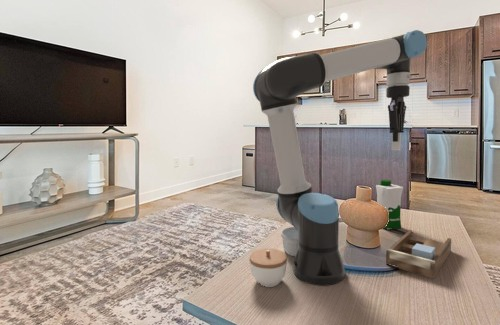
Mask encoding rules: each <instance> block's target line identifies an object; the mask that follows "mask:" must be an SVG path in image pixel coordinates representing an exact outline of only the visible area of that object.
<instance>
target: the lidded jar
mask: <svg viewBox="0 0 500 325" xmlns="http://www.w3.org/2000/svg"><path fill="white" fill-rule="evenodd" d="M287 259H288V256H287V253H286V252H285V251H282V250H280V249H276V248H260V249H257V250H255V251H252V252H251V253H250V254H249V264H250V265H249V266H250V272H251V275H252V277H253V279H254V280H255V281H256V282H257V283H258V284H259V283H260V284H261V285H260V284H259V285H260V286H262V285H263V286H262V287H264V286H265V288H273V287H276V286H278V285H279V284H280V283H281V281H283V279H284V278H285V275H286V272H287V264H288V263H287V261H288V260H287Z"/></svg>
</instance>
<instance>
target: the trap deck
mask: <svg viewBox="0 0 500 325" xmlns="http://www.w3.org/2000/svg"><path fill="white" fill-rule="evenodd" d="M417 243H418V244H422V245H426V246H431V247H435V257H434V258H433V260H430V259H426V258H422V257H418V256H414V255H412V248H413V247H414V246H415V245H416V244H417ZM385 251H386V254H385V255H386V256H385V261H386V262H385V264H386V263H387V264H391V265H395V266H398V268H397V269H399V270H403V271H406V272H409V273H413V274H416V275H419V276H422V277H427V278H430V279H435V277H436V276H437V275H438V273H439V271H440V270H441V268H442V266H443V265H444V263H445V261H446V260H447V259H448V257H449V255H450V253H451V251H452V238H450V237H447V239H446V240H445V241H444V242H443V241H438V240H433V239H428V238H424V237H419V236H414V235H413V230H410V229H409V230H408V231H407V232H405V234H403V235H402V236H401V237H400V238H399V239H398V240H397V241H396V242H395V243H394V244H392V245H391V246H390V247H389V248H386V250H385Z"/></svg>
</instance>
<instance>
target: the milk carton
mask: <svg viewBox="0 0 500 325" xmlns="http://www.w3.org/2000/svg"><path fill="white" fill-rule="evenodd" d="M375 188H376V189H375V190H376V195H377V196H376V201H377V202H378V203H380V204H381V205H383V206H384V207H386V209H387V211H388V213H389V222H388V224H387V226H386V227H385V228H392V229H391V230H398V229H402V223H401V222H402V221H401V210H402V209H401V206H402V205H401V203H402V199H401V198H402V195H403V190H404V186H400V185H398V184H393V183H392V180H390V179H381V180H380V184H376V185H375ZM377 202H376V203H377Z"/></svg>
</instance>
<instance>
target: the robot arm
mask: <svg viewBox="0 0 500 325" xmlns="http://www.w3.org/2000/svg"><path fill="white" fill-rule="evenodd" d="M427 46H428V42H427V36H426V35H425V33H424V32H423V31H421V30H419V29H416V30H411V31H408V32H406V33H404V34H400V35H397V36H393V37H389V38H386V39H385V38H384V39H381V40H377V41H373V42H369V43H364V44H361V45H356V46H352V47H348V48H344V49H339V50H336V51H332V52H327V53H324V54H320V53H318V52H311V53H307V54H301V55H295V56H289V57H284V58H280V59H278V60H276V61H274V62H272V63H270V64H269V65H268V66H266V67H264V68H263V69H261V70H260V71H259V72H258V74H256V76H255V78H254V80H253V84H252V91H253V95H254V97H255V99H256V100H258V101H259V105H260V109H261V112H262V113H263V114H264V115H265V116H266V117H267V121H268V125H269V131H270V135H271V136H270V137H271V142H272V145H273V146H272V148H273V151H274V157H275V162H276V167H277V168H276V169H277V173H278V177H279V178H278V179H279V183H280V186H279V187H278V188H277V190H276V191H277V195H278V196H277V198H276V210H277V213H278V215H279V216H280V217H281V218H282V219H283V220H284V221H285V222H287V223H288V224H290V225H291V226H292V227H295V228H297V229H298V230H299V248H298V251H297V254H296V257H295V256H294V257H295V258H294V261H293V274H294V276H295V277H297V278H298V280H301V281H303V282H304V283H308V284H312V285H316V286H317V285H318V286H329V285H335V284H339V282H341V281H343V279H344V278H345V265H344V261H343V259H342V255H341V253H340V250H339V226H340V225H339V220H340V218H339V217H340V210H339V204H338V201H337V199H335V198H334V197H332V196H331V195H328V194H325V193H324V194H323V193H320V192H313V188H312V184H311V183H310V182H309V181H307V179H306V176H305V175H306V174H305V170H304V164H303V159H302V158H303V157H302V153H301V148H300V141H299V135H298V131H297V124H296V119H295V118H296V117H295V113H294V110H295V108H296V107H297V105H298V104H297V103H298V102H297V97H298V96H300V95H302V94H305V93H307V92H310V91H311V90H315V89H318V88H322V87H323V86H324V84H325V83H327V82H330V81H334V80H337V79H341V78H346V77H349V76H352V75H356V74H359V73H362V72H366V71H371V70H386V86H387V88H386V99H387V98H388V99H390V102H389V104H388V105H387V110H388V119H389V120H388V122H389V131H388V132H389V134H391V151H401V150H402V133H405V130H404V129H405V128H404V127H405V119H406V118H405V116H406V110H407V105H406V102H405V99H404V98H407V97H409V96H410V88H411V87H410V86H409V85H410V78H412V74H411V59H414V58H417V57H419V56H421V55H422V54H424V53H425V51H426V49H427Z"/></svg>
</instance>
